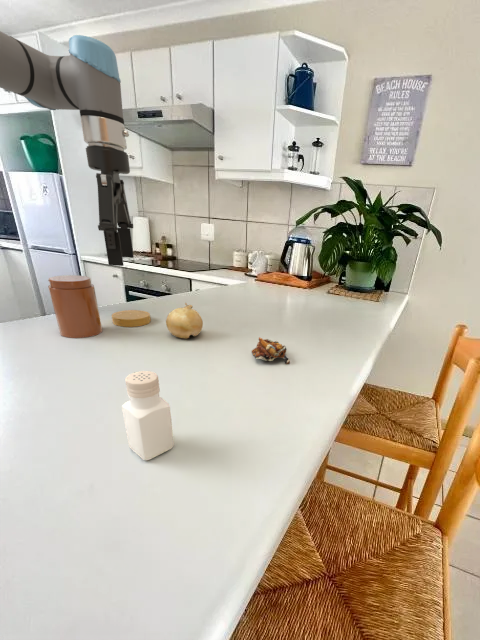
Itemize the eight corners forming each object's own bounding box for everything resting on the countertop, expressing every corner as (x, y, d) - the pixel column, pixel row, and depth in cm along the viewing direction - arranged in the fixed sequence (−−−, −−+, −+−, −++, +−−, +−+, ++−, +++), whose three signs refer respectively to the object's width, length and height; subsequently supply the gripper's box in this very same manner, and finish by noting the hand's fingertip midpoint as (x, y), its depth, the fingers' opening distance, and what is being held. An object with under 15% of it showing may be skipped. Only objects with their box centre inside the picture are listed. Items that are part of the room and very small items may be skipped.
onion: (203, 341, 72) (202, 310, 69) (165, 341, 70) (162, 309, 67) (203, 330, 79) (202, 301, 75) (168, 330, 77) (166, 300, 74)
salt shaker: (158, 434, 41) (149, 366, 37) (176, 448, 39) (169, 377, 35) (127, 448, 38) (113, 376, 34) (144, 464, 36) (132, 389, 32)
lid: (152, 316, 85) (151, 310, 84) (149, 326, 78) (148, 319, 77) (116, 316, 83) (114, 309, 82) (109, 327, 75) (108, 319, 75)
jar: (67, 326, 74) (54, 274, 68) (106, 326, 76) (96, 275, 70) (54, 338, 67) (39, 281, 61) (97, 337, 69) (86, 282, 64)
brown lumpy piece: (277, 343, 74) (278, 328, 73) (291, 364, 64) (293, 347, 63) (247, 343, 73) (247, 328, 71) (256, 365, 62) (257, 348, 61)
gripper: (114, 139, 55) (131, 270, 64) (136, 159, 76) (146, 255, 85) (63, 132, 53) (88, 268, 62) (101, 154, 74) (115, 253, 83)
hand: (122, 261), depth 74 cm, fingers open, 13 cm apart
